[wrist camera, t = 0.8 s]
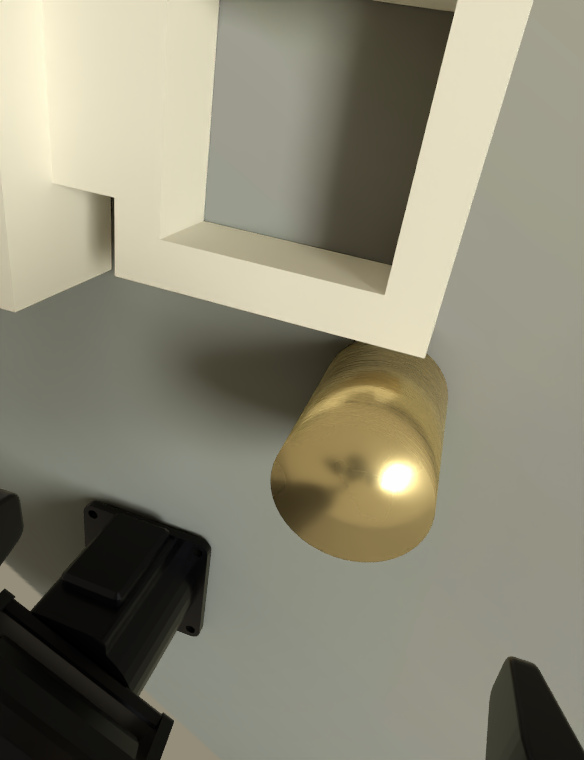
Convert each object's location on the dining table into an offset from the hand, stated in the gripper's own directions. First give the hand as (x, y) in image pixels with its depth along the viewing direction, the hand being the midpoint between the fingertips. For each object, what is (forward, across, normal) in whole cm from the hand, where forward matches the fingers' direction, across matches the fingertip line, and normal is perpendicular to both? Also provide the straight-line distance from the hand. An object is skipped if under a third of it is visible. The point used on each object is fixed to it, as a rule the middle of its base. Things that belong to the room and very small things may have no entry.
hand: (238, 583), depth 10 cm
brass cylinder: (+11, -1, +2) cm, 11 cm away
